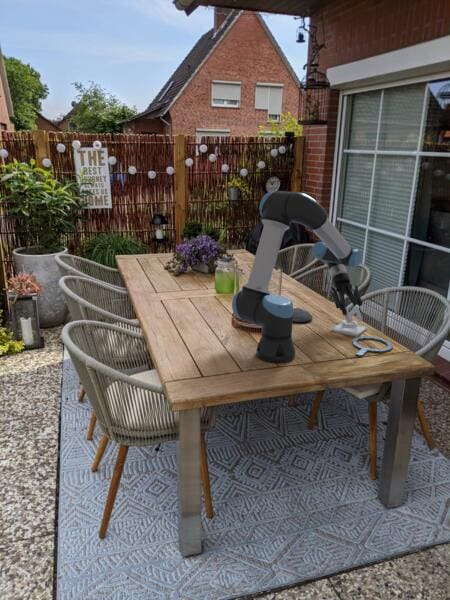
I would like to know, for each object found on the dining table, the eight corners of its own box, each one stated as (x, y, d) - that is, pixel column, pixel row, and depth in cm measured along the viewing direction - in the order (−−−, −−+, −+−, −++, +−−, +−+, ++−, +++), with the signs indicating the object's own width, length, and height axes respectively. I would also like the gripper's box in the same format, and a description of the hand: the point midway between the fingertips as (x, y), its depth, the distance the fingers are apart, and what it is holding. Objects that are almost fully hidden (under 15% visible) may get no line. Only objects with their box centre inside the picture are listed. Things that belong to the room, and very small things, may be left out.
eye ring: (378, 361, 171) (378, 359, 171) (339, 351, 180) (339, 349, 180) (397, 344, 188) (397, 342, 188) (360, 335, 198) (360, 333, 197)
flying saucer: (287, 312, 228) (287, 302, 226) (315, 317, 222) (316, 306, 220) (277, 321, 215) (277, 310, 213) (307, 326, 209) (308, 315, 207)
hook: (371, 317, 197) (360, 310, 194) (354, 336, 202) (342, 330, 199) (365, 308, 203) (354, 301, 201) (348, 326, 208) (337, 320, 205)
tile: (356, 337, 195) (357, 334, 195) (331, 330, 202) (331, 328, 202) (366, 329, 205) (367, 327, 204) (342, 323, 212) (342, 321, 211)
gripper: (353, 279, 214) (368, 322, 204) (319, 281, 210) (333, 325, 199) (360, 271, 208) (376, 315, 197) (325, 273, 203) (340, 318, 193)
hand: (354, 320), depth 198 cm, fingers closed on hook, 5 cm apart
